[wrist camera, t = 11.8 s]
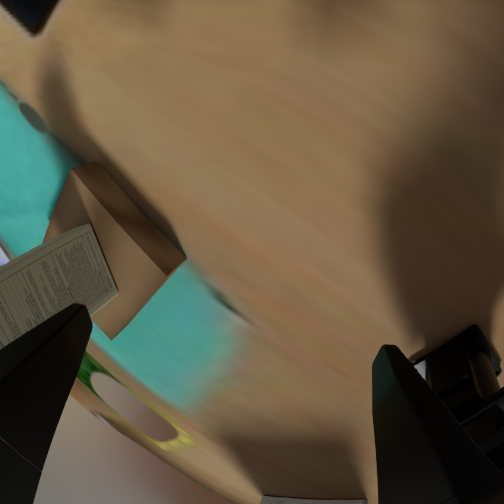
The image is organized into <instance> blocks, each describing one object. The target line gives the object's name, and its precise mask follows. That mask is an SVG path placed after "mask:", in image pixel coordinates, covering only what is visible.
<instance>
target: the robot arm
mask: <svg viewBox="0 0 504 504" xmlns="http://www.w3.org/2000/svg"><path fill="white" fill-rule="evenodd" d="M474 331H476V332H475V333H473V332H474ZM91 332H92V321H91V318H90V315H89V312H88V309H87V307H86V305H84V304H80V303H72V304H71V305H69V306H67V307H66V308H64V309H63V310H61V311H59V312H58V313H56V314H54V315H53V316H51V317H50V318H48V319H46V320H45V321H43V322H42V323H40V324H39V325H37V326H35V327H34V328H32V329H31V330H29V331H28V332H26V333H24V334H23V335H21V336H20V337H18V338H17V339H15V340H14V341H12V342H11V343H9V344H8V345H6V346H4V347H3V348H1V349H0V504H33V502H34V498H35V494H36V491H37V487H38V484H39V480H40V477H41V473H42V470H43V466H44V463H45V460H46V457H47V454H48V451H49V448H50V445H51V442H52V439H53V436H54V433H55V431H56V428H57V425H58V422H59V419H60V417H61V414H62V411H63V409H64V406H65V403H66V401H67V398H68V396H69V394H70V391H71V389H72V386H73V384H74V381H75V379H76V376H77V374H78V371H79V369H80V366H81V363H82V360H83V356H84V353H85V350H86V347H87V344H88V341H89V338H90V335H91ZM501 372H502V370H501V367H500V365H499V363H498V361H497V359H496V357H495V355H494V353H493V351H492V349H491V347H490V345H489V344H488V342H487V340H486V338H485V336H484V334H483V333H482V331H481V329H480V327H479V326H478V325H473V326H471V327H469V328H468V329H466V330H465V331H463V332H462V333H461V334H459V335H458V336H456V337H454V338H453V339H451V340H450V341H448V342H447V343H445V344H444V345H442V346H441V347H439V348H437V349H436V350H434V351H432V352H431V353H429V354H428V355H426V356H424V357H423V358H421V359H419V360H417V361H416V362H414V363H412V364H411V362H410V361H409V360H408V359H407V358H406V356H405V355H404V354H403V353H402V352H401V350H400V349H399V348H398V347H397V346H396V345H387V344H385V345H382V346H381V348H380V350H379V352H378V354H377V356H376V358H375V360H374V362H373V365H372V414H373V425H374V436H375V448H376V462H377V479H378V504H504V387H502V388H501V389H500V386H499V383H498V380H497V376H499V375H500V374H501Z"/></svg>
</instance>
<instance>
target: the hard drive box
mask: <svg viewBox="0 0 504 504" xmlns="http://www.w3.org/2000/svg"><path fill="white" fill-rule="evenodd" d="M261 504H367V500H366V499H358V500H313V499H295V498H285V497H270V496H264V497H263V498H262V501H261Z"/></svg>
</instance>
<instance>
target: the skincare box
mask: <svg viewBox="0 0 504 504" xmlns="http://www.w3.org/2000/svg"><path fill="white" fill-rule="evenodd" d="M117 295H118V291H117V288H116V286H115V284H114V281H113V279H112V276H111V274H110V272H109V269H108V267H107V265H106V262H105V260H104V257H103V255H102V252H101V249H100V247H99V244H98V242H97V239H96V237H95V235H94V232H93V230H92V227H91V225H90V224H85V225H82V226H79V227H76V228H74V229H71V230H69V231H66V232H64V233H62V234H60V235H58V236H56V237H54V238H52V239H50V240H48V241H46V242H44V243H43V244H41V245H39V246H37V247H35V248H33V249H31V250H30V251H28V252H26V253H24V254H22V255H20V256H19V257H17V258H15V259H13V260H12V261H10V262H8V263H6V264H5V265H3V266H1V267H0V349H1V348H3V347H4V346H6V345H8V344H9V343H11V342H12V341H14V340H15V339H17V338H18V337H20V336H21V335H23V334H24V333H26V332H28V331H29V330H31V329H32V328H34V327H35V326H37V325H39V324H40V323H42V322H43V321H45V320H46V319H48V318H50V317H51V316H53V315H54V314H56V313H58V312H59V311H61V310H63V309H64V308H66V307H67V306H69V305H71V304H72V303H80V304H84V305H86V307H87V309H88V312H89V315H90V317H92V316H93V315H94V314H95V313H96V312H98V311H99V310H100V309H101V308H102V307H104V306H105V305H106V304H107V303H108V302H110V301H111V300H112V299H113V298H115V297H116V296H117Z"/></svg>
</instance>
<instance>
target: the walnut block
mask: <svg viewBox="0 0 504 504" xmlns="http://www.w3.org/2000/svg"><path fill="white" fill-rule="evenodd" d="M85 224H90V225H91V227H92V230H93V232H94V235H95V237H96V239H97V242H98V244H99V247H100V249H101V252H102V255H103V257H104V260H105V262H106V265H107V267H108V269H109V272H110V274H111V276H112V279H113V281H114V284H115V286H116V288H117V291H118V295H117V296H116V297H115V298H113V299H112V300H111V301H110V302H108V303H107V304H106V305H105V306H104V307H102V308H101V309H100V310H99V311H98V312H96V313H95V314H94V315H93V316H92V317H90V318H91V319H92V320H93V321H94V323H95V324H96V325H97V326H98V327H99V328H100V329H101V330H102V331H103V332H104V333H105V334H106V335H107V336H108V338H109V339H110V340H113V339H114V338H115V337H116V336H117V335H118V334H119V333H120V332H121V331H122V330H123V329H124V328H125V327H126V326H127V325H128V324H129V323H130V322H131V321H132V320H133V319H134V317H135V316H136V315H137V314H138V313H139V312H140V311H141V309H142V308H143V307H144V306H145V305H146V304H147V303H148V301H149V300H150V299H151V298H152V297H153V296H154V295H155V294H156V292H157V291H158V290H159V289H160V288H161V287H162V286H163V285H164V283H165V282H166V281H167V280H168V279H169V278H170V277H171V276H172V275H173V273H174V272H175V271H176V270H177V269H178V268H179V267H180V266H181V265H182V264H183V262H184V261H185V260H186V259H187V258H186V257H185V256H184V255H183V254H182V253H181V252H180V251H179V250H178V249H177V248H176V247H175V246H174V245H173V244H172V243H171V241H170V240H169V239H168V238H167V237H166V236H165V235H164V234H163V233H162V232H161V231H160V230H159V229H158V228H157V227H156V226H155V225H154V224H153V222H152V221H151V220H150V219H149V218H148V217H147V216H146V215H145V214H144V213H143V212H142V211H141V210H140V209H139V207H138V206H137V205H136V204H135V203H134V202H133V201H132V200H131V199H130V198H129V197H128V195H127V194H126V193H125V192H124V191H123V190H122V189H121V188H120V187H119V186H118V184H117V183H116V182H115V181H114V180H113V179H112V178H111V177H110V176H109V174H108V173H107V172H106V171H105V170H104V169H103V168H102V167H101V165H100V164H99V163H98V162H94V163H90V164H86V165H83V166H79V167H76V168H72V169H71V170H70V173H69V175H68V177H67V180H66V182H65V184H64V187H63V189H62V191H61V194H60V196H59V199H58V201H57V204H56V207H55V209H54V212H53V214H52V217H51V220H50V223H49V226H48V228H47V231H46V234H45V237H44V240H43V243H44V242H46V241H48V240H50V239H52V238H54V237H56V236H58V235H60V234H62V233H64V232H66V231H69V230H71V229H74V228H76V227H79V226H82V225H85ZM43 243H42V244H43Z"/></svg>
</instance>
